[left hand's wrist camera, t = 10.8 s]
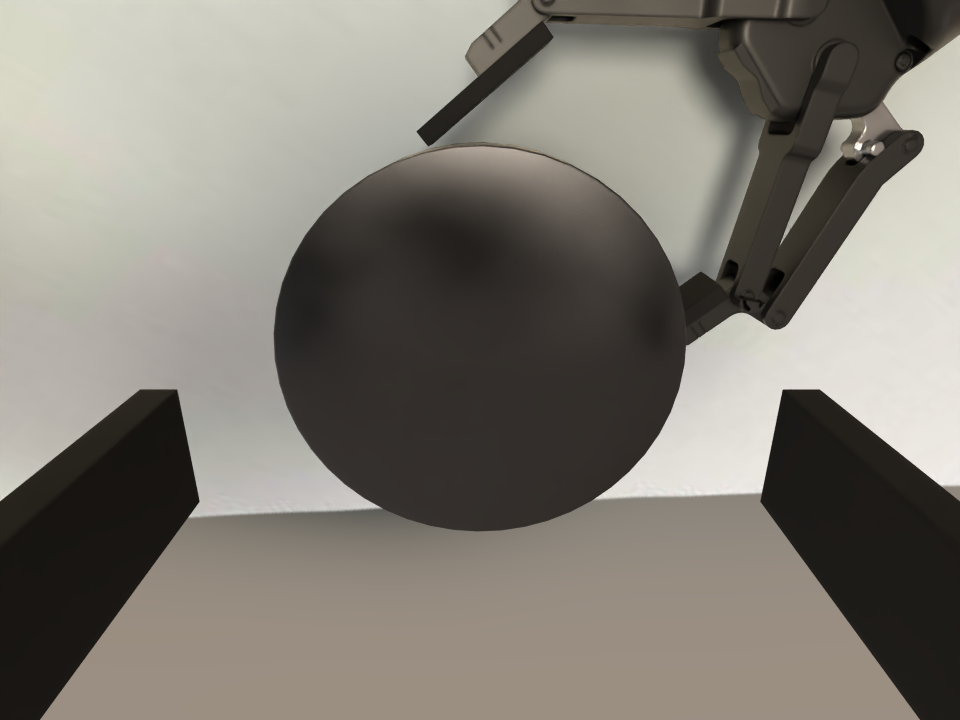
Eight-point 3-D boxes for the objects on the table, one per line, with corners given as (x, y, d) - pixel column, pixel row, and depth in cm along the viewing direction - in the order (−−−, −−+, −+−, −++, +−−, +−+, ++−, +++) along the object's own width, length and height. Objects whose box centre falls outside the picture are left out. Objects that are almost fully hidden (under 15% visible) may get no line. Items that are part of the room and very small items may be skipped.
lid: (215, 336, 19) (189, 358, 17) (484, 44, 16) (485, 36, 14) (476, 554, 22) (476, 591, 20) (743, 343, 19) (769, 366, 17)
